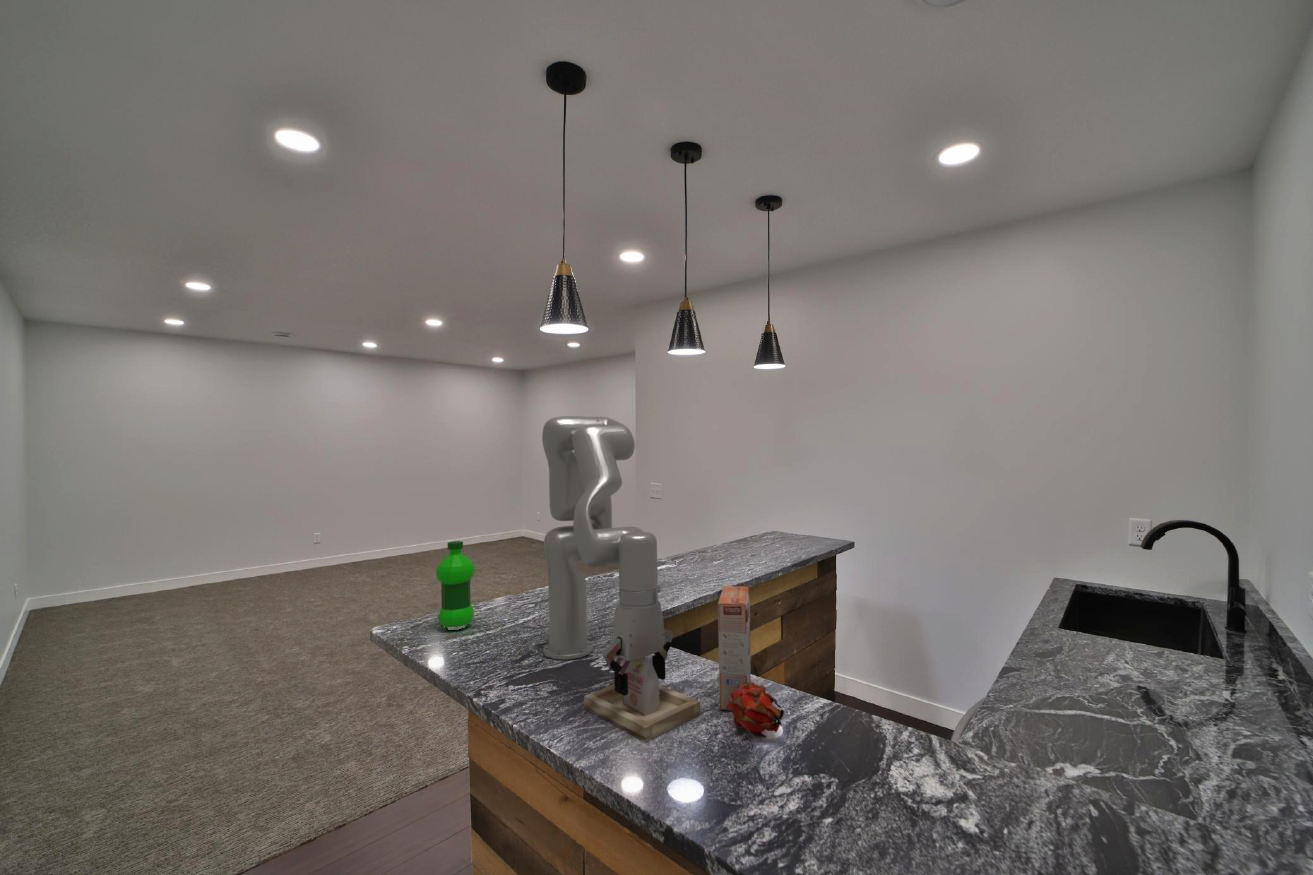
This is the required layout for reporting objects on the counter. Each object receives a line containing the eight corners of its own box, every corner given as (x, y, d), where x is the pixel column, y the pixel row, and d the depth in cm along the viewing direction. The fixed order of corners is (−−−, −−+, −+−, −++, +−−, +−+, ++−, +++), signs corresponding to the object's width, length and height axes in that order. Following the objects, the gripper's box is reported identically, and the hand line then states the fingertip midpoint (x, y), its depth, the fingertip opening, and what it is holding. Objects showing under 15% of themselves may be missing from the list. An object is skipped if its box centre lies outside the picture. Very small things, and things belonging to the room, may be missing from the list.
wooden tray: (584, 708, 110) (584, 696, 110) (637, 687, 119) (637, 675, 119) (645, 742, 96) (645, 727, 96) (700, 714, 106) (699, 701, 106)
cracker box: (750, 713, 106) (747, 603, 107) (718, 711, 107) (715, 602, 108) (752, 683, 120) (750, 585, 120) (724, 681, 121) (722, 584, 122)
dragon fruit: (735, 721, 106) (779, 760, 96) (707, 706, 102) (751, 744, 92) (757, 681, 108) (803, 714, 98) (731, 664, 104) (777, 697, 94)
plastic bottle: (465, 620, 170) (464, 538, 170) (480, 628, 162) (479, 542, 163) (432, 628, 163) (431, 542, 164) (446, 636, 155) (445, 546, 156)
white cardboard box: (637, 698, 112) (636, 648, 112) (659, 710, 107) (658, 657, 107) (622, 704, 109) (621, 653, 110) (644, 716, 104) (643, 662, 104)
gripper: (657, 585, 117) (659, 667, 117) (591, 602, 105) (593, 693, 105) (683, 591, 111) (685, 677, 111) (616, 609, 100) (618, 706, 99)
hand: (640, 685), depth 108 cm, fingers open, 9 cm apart
